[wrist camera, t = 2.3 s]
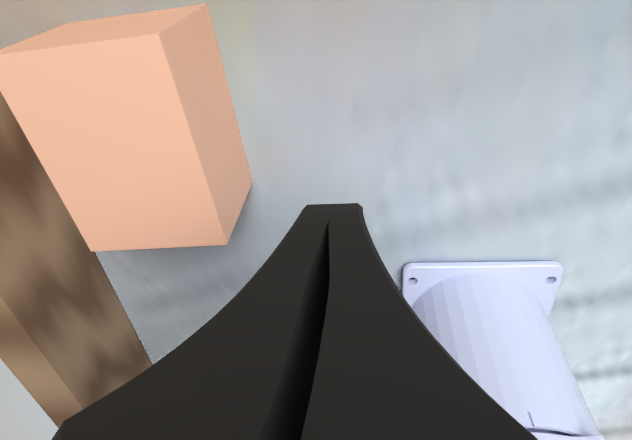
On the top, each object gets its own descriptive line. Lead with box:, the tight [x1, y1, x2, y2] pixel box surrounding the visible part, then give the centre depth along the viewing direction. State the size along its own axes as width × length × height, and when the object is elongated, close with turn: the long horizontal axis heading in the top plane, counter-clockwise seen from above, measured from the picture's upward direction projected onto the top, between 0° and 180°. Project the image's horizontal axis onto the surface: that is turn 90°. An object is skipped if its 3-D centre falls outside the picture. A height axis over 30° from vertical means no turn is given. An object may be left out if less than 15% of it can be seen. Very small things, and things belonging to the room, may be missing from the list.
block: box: [0, 4, 252, 252], centre depth 17 cm, size 8×6×5 cm
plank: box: [0, 91, 152, 428], centre depth 23 cm, size 24×2×6 cm, turn 5°
